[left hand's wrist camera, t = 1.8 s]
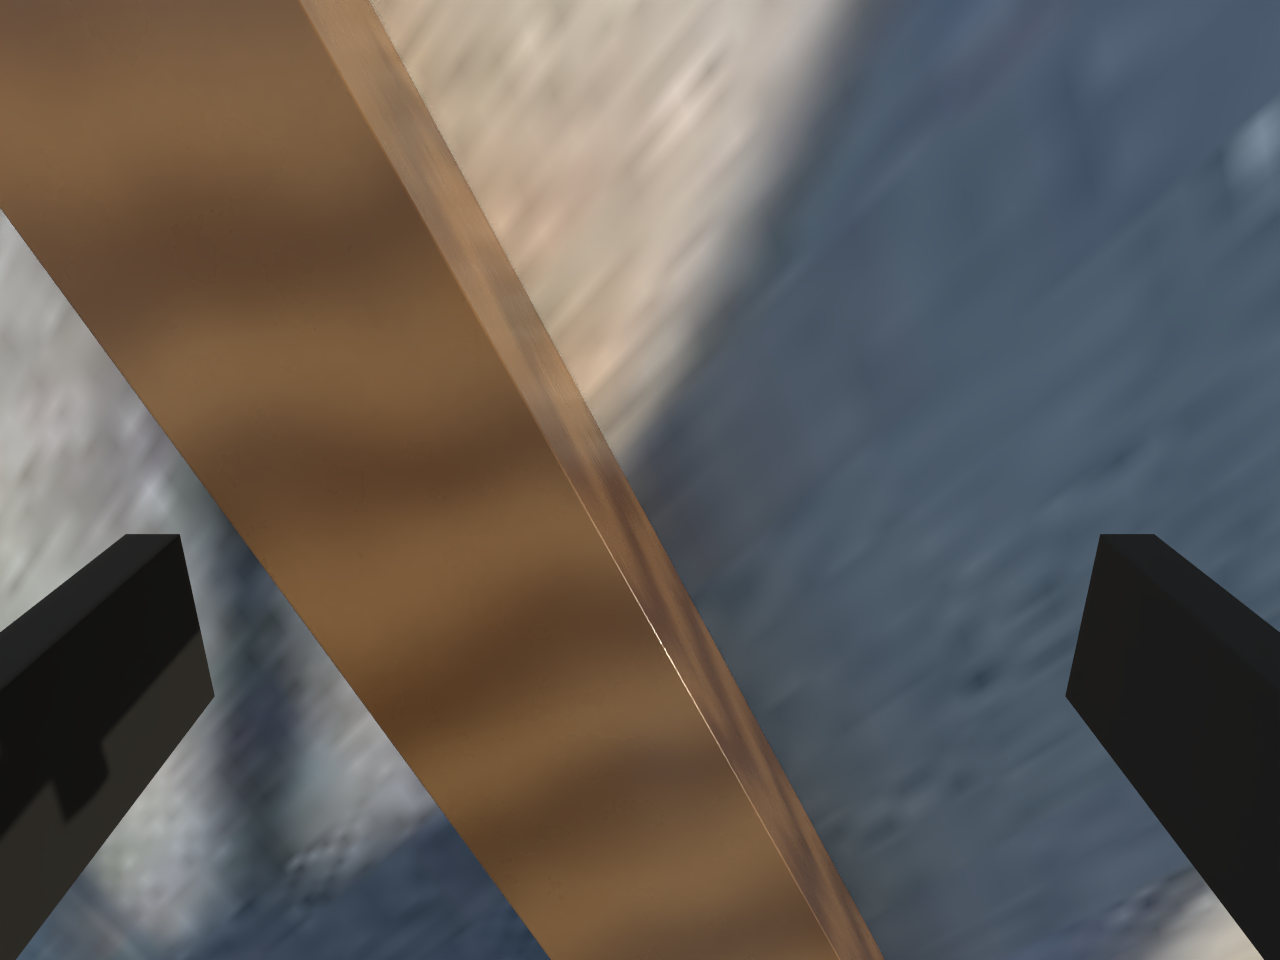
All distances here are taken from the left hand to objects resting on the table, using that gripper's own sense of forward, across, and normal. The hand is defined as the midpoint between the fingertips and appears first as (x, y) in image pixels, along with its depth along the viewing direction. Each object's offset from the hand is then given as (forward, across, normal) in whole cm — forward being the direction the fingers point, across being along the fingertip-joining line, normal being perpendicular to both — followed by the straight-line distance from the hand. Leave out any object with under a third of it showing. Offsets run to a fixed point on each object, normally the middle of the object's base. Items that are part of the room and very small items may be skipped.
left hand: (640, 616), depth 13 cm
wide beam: (+19, +2, -21) cm, 28 cm away
